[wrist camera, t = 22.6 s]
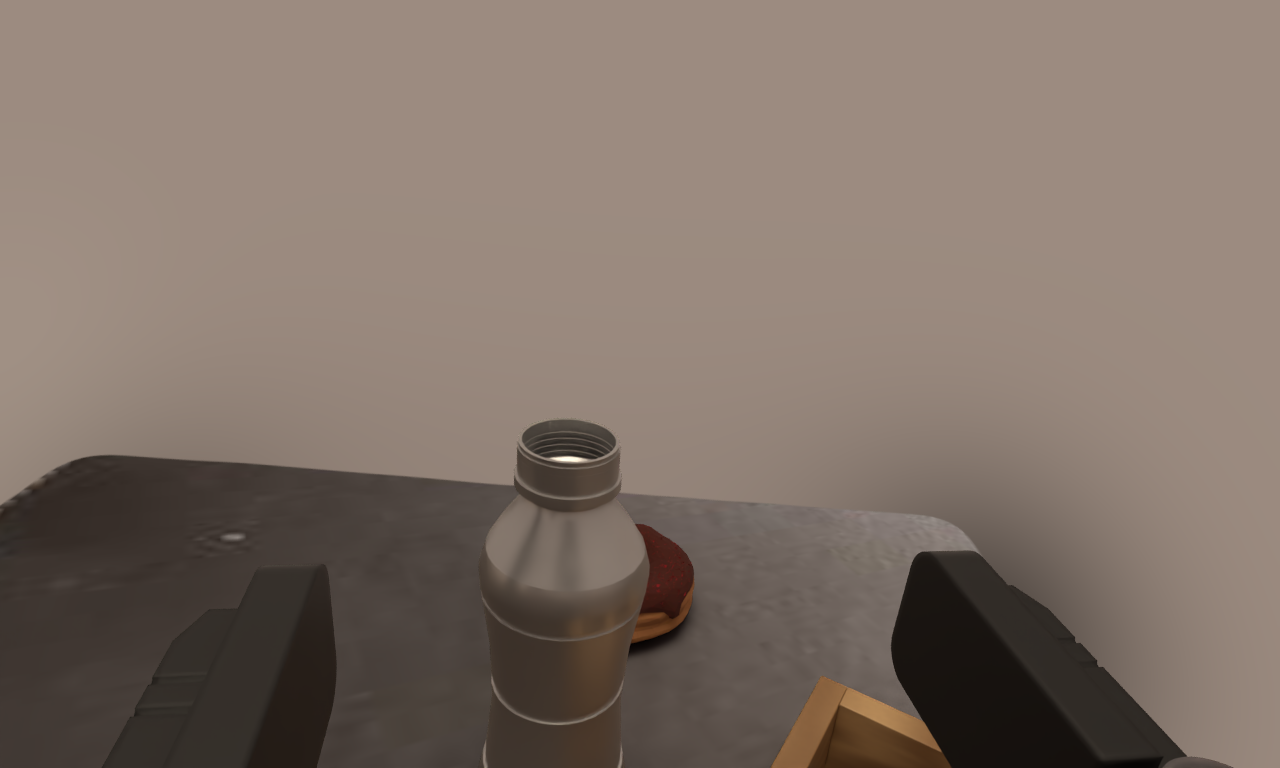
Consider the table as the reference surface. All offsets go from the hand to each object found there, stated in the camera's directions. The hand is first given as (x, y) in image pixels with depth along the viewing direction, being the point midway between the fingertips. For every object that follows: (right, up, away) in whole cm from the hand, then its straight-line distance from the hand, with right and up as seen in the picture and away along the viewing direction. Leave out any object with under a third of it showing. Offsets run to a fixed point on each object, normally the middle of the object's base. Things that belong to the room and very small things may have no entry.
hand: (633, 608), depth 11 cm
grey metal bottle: (-4, -17, +25) cm, 31 cm away
